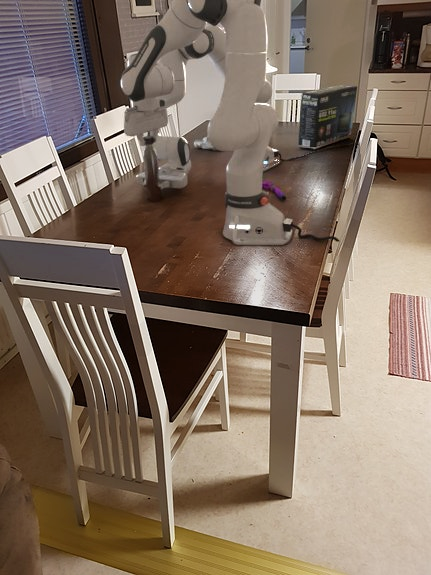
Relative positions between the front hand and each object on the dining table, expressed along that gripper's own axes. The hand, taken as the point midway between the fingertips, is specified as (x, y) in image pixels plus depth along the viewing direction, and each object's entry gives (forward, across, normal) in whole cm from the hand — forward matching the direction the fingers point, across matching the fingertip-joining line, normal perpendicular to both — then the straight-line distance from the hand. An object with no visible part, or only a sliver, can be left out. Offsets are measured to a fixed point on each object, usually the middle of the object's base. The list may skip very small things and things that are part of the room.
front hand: (148, 143), depth 169 cm
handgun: (+21, +28, -36) cm, 50 cm away
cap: (-2, 0, 0) cm, 2 cm away
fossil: (+21, +76, +26) cm, 83 cm away
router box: (+21, +110, -25) cm, 115 cm away
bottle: (+21, 0, 0) cm, 21 cm away
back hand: (+16, -1, 0) cm, 16 cm away
